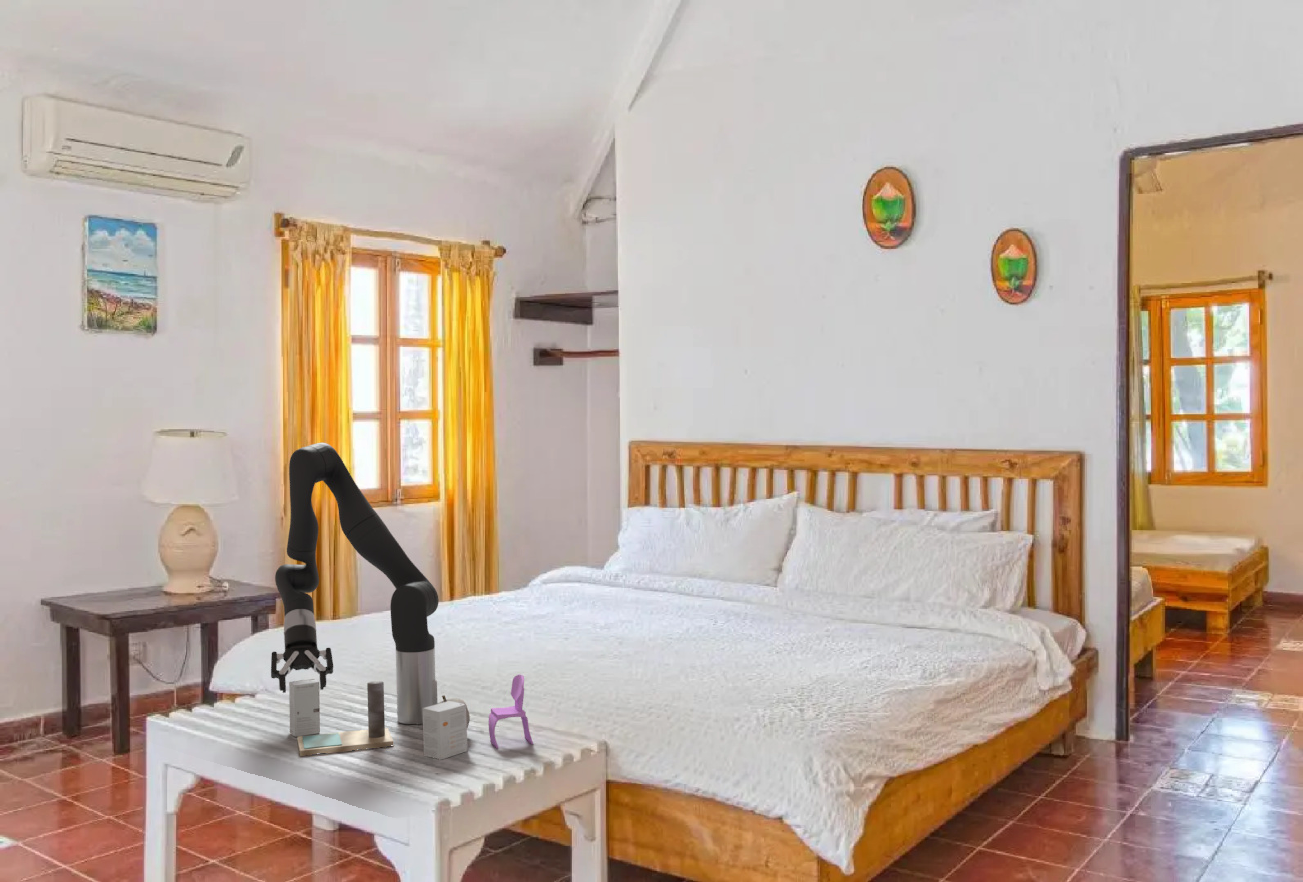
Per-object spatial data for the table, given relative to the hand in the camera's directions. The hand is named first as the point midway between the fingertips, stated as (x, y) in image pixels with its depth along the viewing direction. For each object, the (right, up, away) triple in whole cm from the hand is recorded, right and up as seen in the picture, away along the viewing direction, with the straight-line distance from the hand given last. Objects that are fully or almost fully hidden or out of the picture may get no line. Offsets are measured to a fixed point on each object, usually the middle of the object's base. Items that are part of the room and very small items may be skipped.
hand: (303, 689), depth 285 cm
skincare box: (+1, -10, -3) cm, 10 cm away
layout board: (+13, -10, -13) cm, 21 cm away
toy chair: (+50, -9, -14) cm, 53 cm away
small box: (+37, -10, -22) cm, 44 cm away
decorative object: (+36, -9, -9) cm, 38 cm away
